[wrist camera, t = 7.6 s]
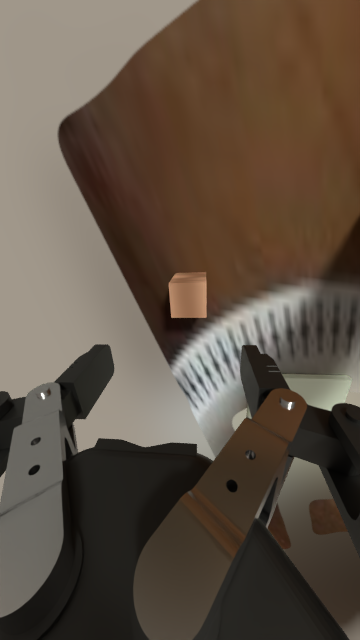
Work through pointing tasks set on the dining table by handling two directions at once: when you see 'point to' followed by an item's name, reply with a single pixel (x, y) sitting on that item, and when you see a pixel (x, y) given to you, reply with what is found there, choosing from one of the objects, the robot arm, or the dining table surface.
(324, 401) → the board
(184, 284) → the terracotta block
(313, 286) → the dining table surface
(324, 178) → the dining table surface
